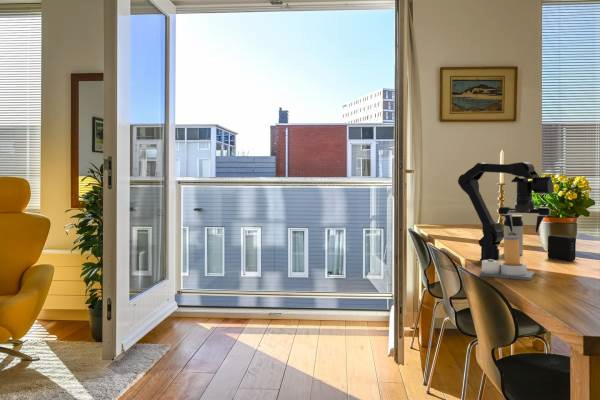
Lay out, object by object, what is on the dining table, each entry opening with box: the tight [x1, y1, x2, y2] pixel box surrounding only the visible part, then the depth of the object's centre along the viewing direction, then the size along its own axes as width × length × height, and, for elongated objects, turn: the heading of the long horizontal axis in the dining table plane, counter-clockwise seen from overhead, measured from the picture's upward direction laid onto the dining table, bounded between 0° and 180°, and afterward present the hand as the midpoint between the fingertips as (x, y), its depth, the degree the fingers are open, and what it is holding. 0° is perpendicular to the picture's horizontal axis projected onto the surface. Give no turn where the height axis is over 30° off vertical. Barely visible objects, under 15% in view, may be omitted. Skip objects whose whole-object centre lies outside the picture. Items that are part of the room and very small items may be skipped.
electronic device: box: [547, 234, 577, 262], centre depth 213 cm, size 4×10×10 cm, turn 28°
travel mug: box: [503, 214, 524, 256], centre depth 229 cm, size 8×8×18 cm
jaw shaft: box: [503, 236, 521, 266], centre depth 180 cm, size 5×5×13 cm
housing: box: [479, 259, 535, 281], centre depth 181 cm, size 16×12×6 cm
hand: (524, 232), depth 202 cm, fingers open, 9 cm apart
